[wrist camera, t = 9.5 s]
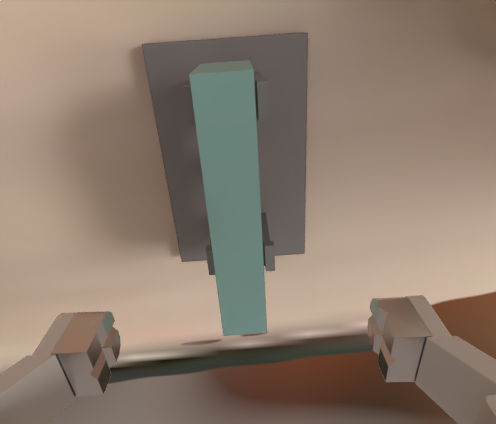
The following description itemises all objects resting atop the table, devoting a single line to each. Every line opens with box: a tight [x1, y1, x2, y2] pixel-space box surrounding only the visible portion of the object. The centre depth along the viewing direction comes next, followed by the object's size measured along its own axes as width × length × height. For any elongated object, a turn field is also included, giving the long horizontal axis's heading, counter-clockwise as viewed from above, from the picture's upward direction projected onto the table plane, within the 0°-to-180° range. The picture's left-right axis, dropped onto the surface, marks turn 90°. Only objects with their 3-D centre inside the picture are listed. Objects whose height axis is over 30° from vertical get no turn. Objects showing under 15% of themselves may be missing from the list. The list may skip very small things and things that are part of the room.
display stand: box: [142, 33, 308, 275], centre depth 23 cm, size 10×16×6 cm, turn 4°
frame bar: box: [189, 60, 267, 336], centre depth 19 cm, size 2×14×5 cm, turn 4°
